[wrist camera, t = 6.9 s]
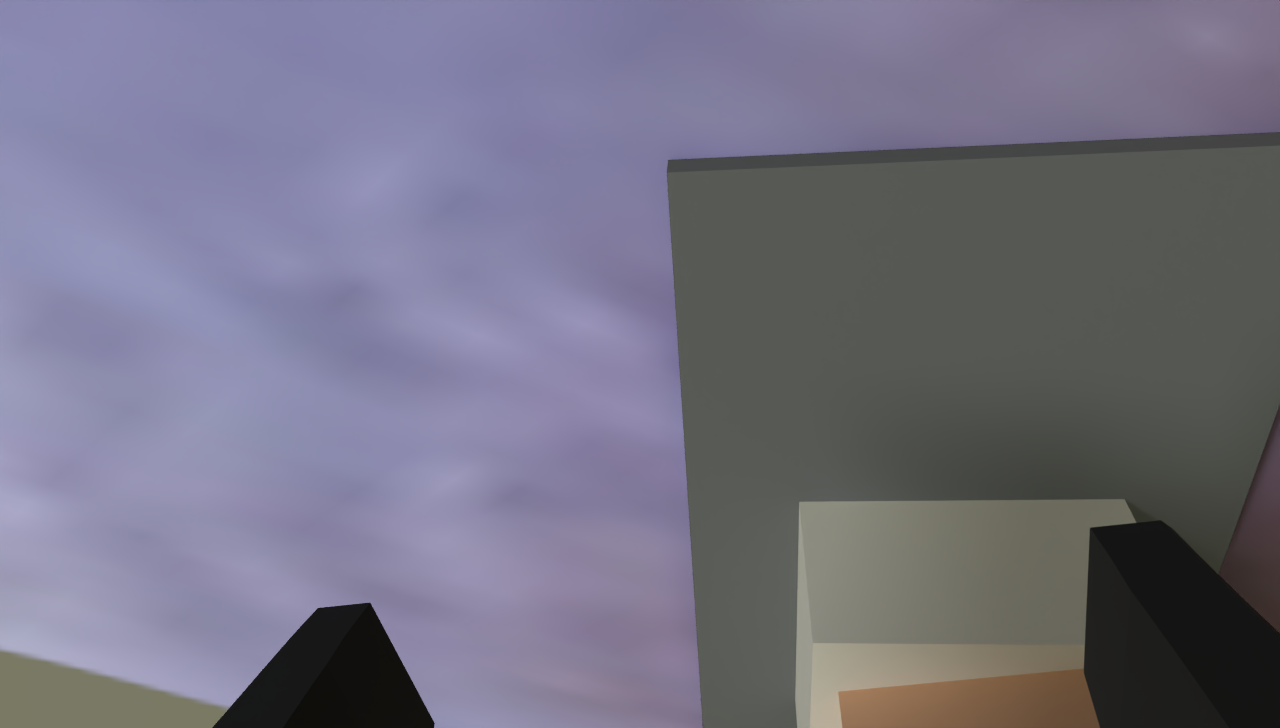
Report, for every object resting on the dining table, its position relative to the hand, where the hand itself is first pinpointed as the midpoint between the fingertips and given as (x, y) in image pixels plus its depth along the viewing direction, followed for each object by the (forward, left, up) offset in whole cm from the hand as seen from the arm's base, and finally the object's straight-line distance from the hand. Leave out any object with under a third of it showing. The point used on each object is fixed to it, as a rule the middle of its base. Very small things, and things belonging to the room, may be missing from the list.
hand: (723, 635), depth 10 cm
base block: (-5, +11, -10) cm, 15 cm away
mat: (-5, +8, -10) cm, 14 cm away
